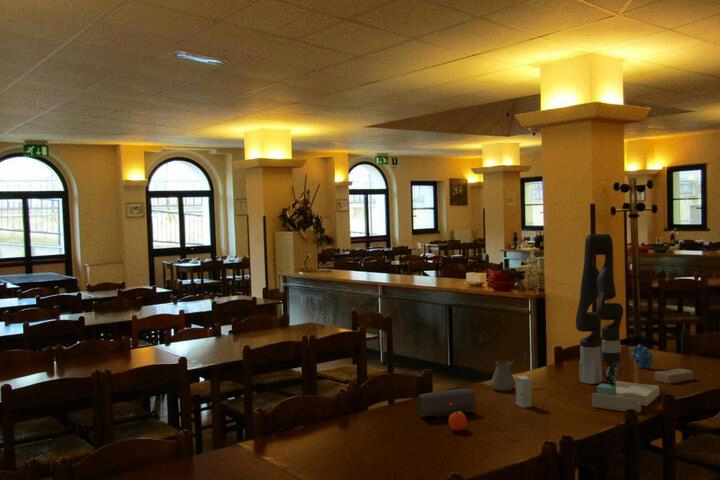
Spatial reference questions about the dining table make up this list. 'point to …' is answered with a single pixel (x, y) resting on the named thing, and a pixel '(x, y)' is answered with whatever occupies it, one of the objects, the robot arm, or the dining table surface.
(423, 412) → the bluetooth speaker
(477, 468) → the dining table surface
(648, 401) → the tray
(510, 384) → the coffee pot
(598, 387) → the block
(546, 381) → the dining table surface
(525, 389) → the skincare box
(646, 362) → the grapes
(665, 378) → the brick
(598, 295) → the robot arm
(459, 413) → the clementine
